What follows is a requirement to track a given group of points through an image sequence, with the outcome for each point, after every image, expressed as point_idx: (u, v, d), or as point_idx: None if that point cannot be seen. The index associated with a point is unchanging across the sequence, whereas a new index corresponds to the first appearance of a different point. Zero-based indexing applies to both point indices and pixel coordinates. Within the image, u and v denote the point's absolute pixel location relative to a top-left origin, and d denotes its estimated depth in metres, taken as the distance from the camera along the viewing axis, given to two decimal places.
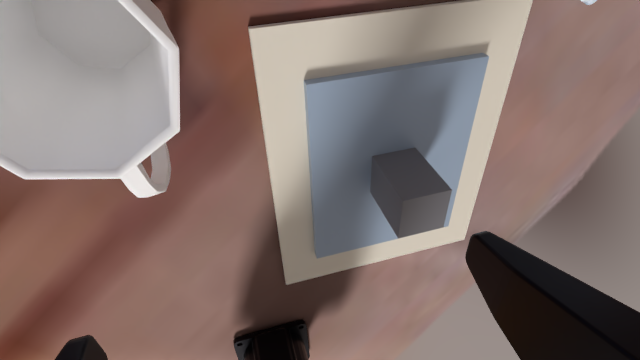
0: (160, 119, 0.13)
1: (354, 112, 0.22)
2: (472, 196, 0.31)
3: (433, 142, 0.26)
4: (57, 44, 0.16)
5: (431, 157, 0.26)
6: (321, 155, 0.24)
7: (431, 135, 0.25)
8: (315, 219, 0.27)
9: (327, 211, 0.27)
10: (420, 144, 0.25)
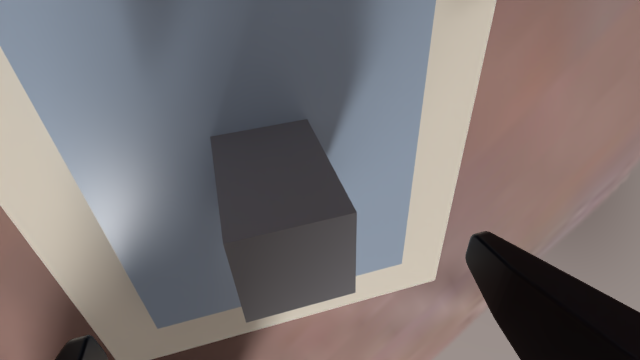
0: None
1: (126, 27, 0.09)
2: (442, 212, 0.18)
3: (347, 108, 0.12)
4: None
5: (347, 140, 0.13)
6: (77, 133, 0.11)
7: (338, 93, 0.12)
8: (124, 264, 0.14)
9: (145, 249, 0.14)
10: (317, 112, 0.12)
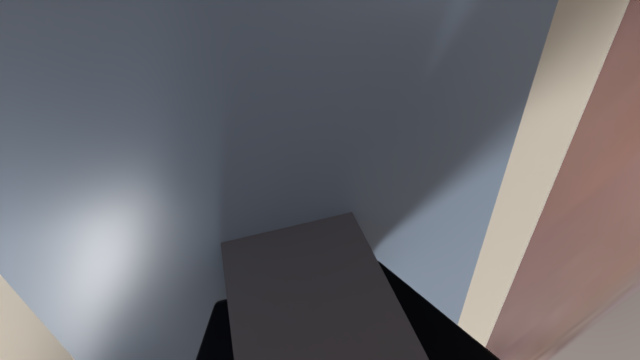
0: None
1: (95, 115, 0.06)
2: (500, 291, 0.15)
3: (405, 195, 0.09)
4: None
5: (401, 232, 0.10)
6: (30, 254, 0.07)
7: (396, 178, 0.09)
8: None
9: None
10: (366, 203, 0.09)
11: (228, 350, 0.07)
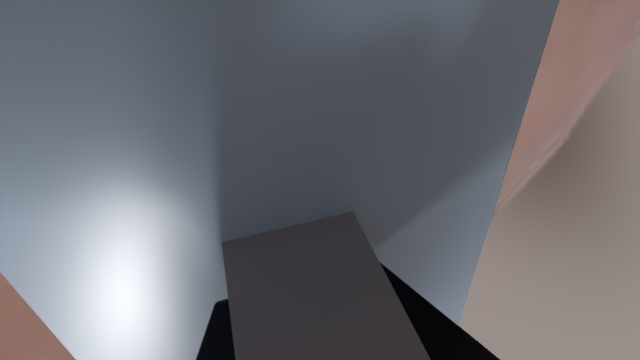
0: None
1: (96, 114, 0.06)
2: None
3: (406, 195, 0.09)
4: None
5: (402, 232, 0.10)
6: (31, 253, 0.07)
7: (397, 178, 0.09)
8: None
9: None
10: (367, 203, 0.09)
11: (228, 350, 0.07)
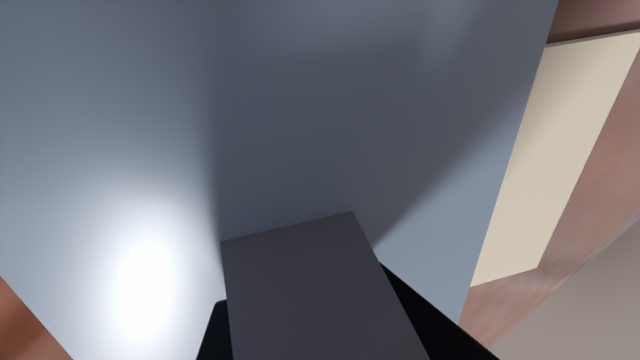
0: None
1: (93, 112, 0.06)
2: (551, 226, 0.30)
3: (406, 194, 0.09)
4: None
5: (401, 231, 0.10)
6: (28, 253, 0.07)
7: (396, 177, 0.09)
8: None
9: None
10: (366, 202, 0.09)
11: (228, 350, 0.07)
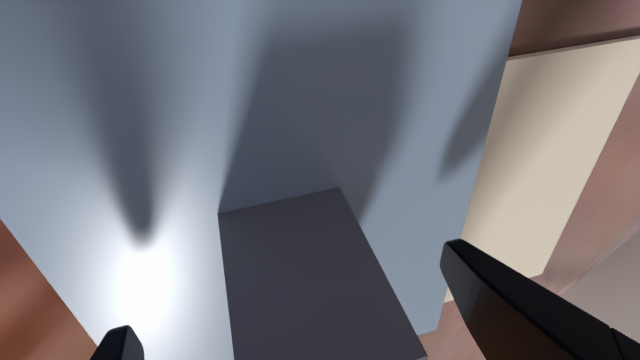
0: None
1: (104, 89, 0.07)
2: (557, 233, 0.30)
3: (389, 172, 0.10)
4: None
5: (386, 208, 0.11)
6: (42, 219, 0.08)
7: (380, 155, 0.09)
8: None
9: None
10: (352, 179, 0.10)
11: None
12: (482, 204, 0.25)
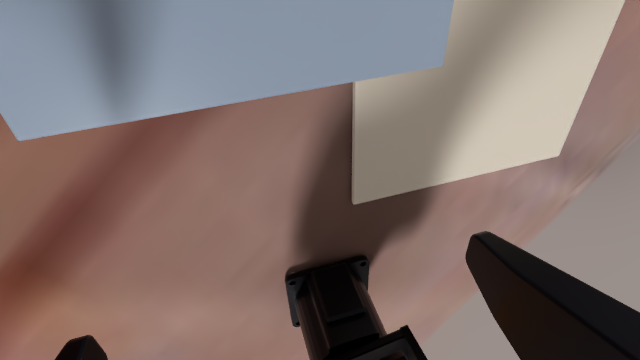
0: None
1: None
2: (580, 93, 0.25)
3: None
4: None
5: None
6: None
7: None
8: None
9: None
10: None
11: None
12: (495, 29, 0.21)
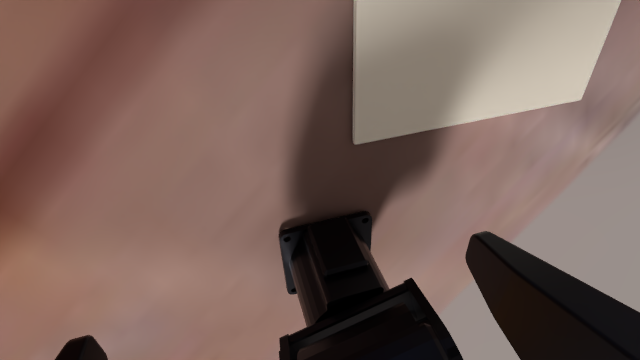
0: None
1: None
2: (607, 21, 0.23)
3: None
4: None
5: None
6: None
7: None
8: None
9: None
10: None
11: None
12: None
